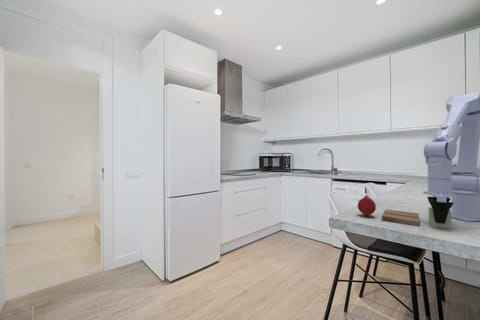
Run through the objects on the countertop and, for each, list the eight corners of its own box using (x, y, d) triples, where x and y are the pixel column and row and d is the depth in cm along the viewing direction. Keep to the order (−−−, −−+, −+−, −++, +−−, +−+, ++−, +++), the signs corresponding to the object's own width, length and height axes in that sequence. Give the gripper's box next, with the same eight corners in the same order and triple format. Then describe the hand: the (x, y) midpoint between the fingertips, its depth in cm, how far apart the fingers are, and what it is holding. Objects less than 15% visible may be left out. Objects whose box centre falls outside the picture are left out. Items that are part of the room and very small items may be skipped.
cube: (428, 222, 72) (428, 207, 72) (449, 224, 69) (449, 209, 69) (429, 225, 69) (429, 210, 68) (451, 229, 65) (451, 212, 65)
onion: (378, 218, 77) (378, 196, 76) (360, 218, 78) (361, 196, 78) (372, 214, 82) (372, 193, 82) (355, 213, 83) (355, 193, 83)
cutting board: (385, 213, 84) (385, 209, 84) (418, 217, 78) (418, 213, 78) (381, 220, 74) (381, 216, 74) (419, 226, 68) (419, 221, 68)
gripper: (422, 176, 77) (422, 214, 77) (423, 179, 66) (423, 224, 66) (449, 177, 72) (449, 217, 73) (456, 181, 61) (456, 228, 61)
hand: (439, 220), depth 69 cm, fingers closed on cube, 5 cm apart
